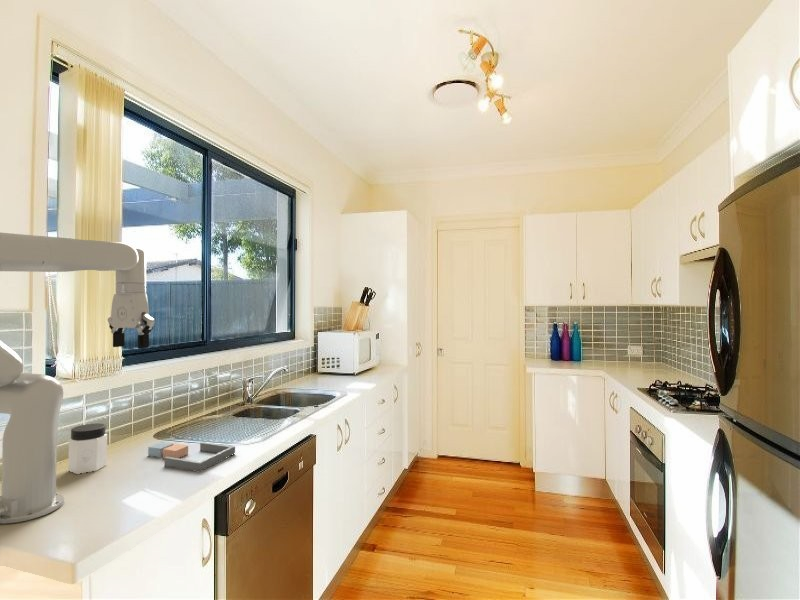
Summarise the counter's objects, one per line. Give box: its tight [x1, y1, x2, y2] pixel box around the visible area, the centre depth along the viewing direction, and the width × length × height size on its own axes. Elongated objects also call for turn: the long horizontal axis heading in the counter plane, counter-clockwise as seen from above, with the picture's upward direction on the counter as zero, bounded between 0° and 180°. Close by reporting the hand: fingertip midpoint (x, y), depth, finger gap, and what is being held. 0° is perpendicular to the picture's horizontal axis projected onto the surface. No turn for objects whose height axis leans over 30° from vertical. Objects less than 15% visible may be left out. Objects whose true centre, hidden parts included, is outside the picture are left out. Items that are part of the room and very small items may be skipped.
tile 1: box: [147, 441, 175, 458], centre depth 133 cm, size 5×5×3 cm
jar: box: [67, 422, 108, 475], centre depth 121 cm, size 9×8×12 cm
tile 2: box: [162, 443, 189, 459], centre depth 131 cm, size 5×5×3 cm
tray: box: [163, 441, 236, 472], centre depth 128 cm, size 15×13×2 cm
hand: (130, 347), depth 122 cm, fingers open, 9 cm apart
